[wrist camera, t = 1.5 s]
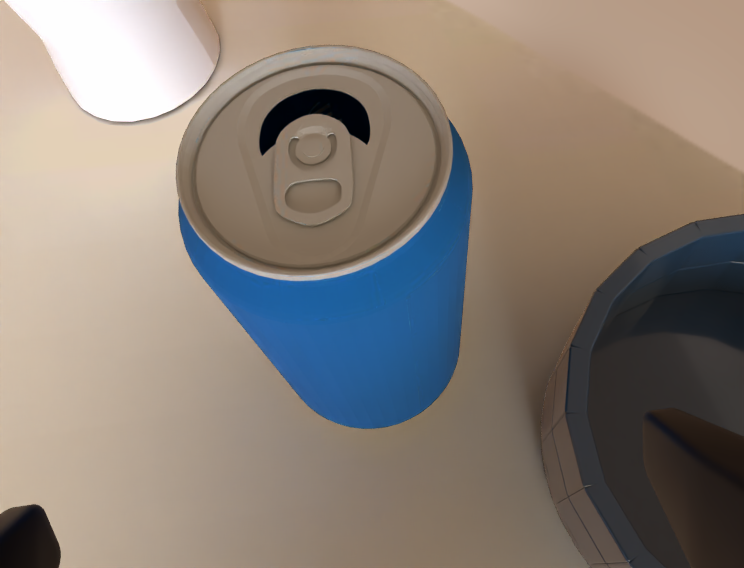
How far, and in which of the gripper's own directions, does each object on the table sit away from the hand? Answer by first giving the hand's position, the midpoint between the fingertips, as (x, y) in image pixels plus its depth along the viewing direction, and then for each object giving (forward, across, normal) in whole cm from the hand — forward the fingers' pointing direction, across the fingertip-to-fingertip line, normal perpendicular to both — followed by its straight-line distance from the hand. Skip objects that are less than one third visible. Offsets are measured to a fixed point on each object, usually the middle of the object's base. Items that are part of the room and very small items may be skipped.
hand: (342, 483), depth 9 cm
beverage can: (+14, 0, +4) cm, 14 cm away
